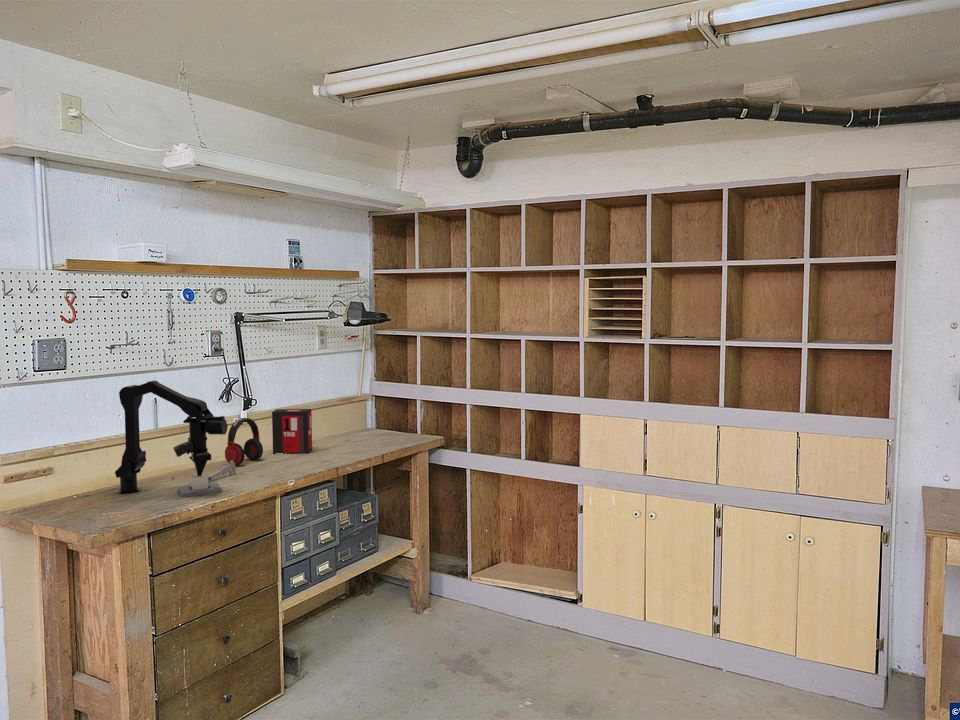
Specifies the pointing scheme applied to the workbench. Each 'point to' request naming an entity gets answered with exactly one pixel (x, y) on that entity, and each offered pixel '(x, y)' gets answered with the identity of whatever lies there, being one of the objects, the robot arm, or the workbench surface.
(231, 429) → the headphones
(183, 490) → the socket
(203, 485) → the plug
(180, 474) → the workbench surface
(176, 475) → the workbench surface
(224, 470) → the caliper
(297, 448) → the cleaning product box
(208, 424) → the robot arm
